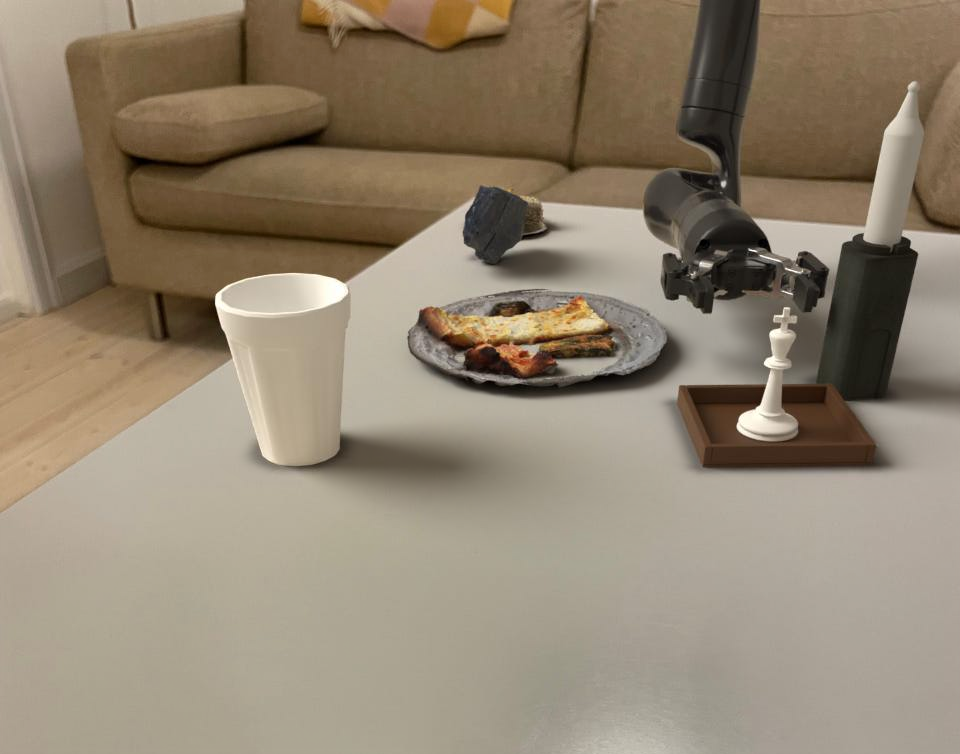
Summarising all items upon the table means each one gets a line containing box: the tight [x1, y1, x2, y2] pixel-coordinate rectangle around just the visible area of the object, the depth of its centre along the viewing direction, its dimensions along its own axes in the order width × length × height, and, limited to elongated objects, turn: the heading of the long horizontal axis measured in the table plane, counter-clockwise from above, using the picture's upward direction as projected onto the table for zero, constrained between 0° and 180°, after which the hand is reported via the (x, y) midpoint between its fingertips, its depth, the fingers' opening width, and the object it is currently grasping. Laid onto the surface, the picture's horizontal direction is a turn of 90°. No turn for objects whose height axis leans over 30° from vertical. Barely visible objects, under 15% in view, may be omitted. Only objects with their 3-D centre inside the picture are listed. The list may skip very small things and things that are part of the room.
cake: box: [507, 187, 548, 236], centre depth 137 cm, size 10×10×5 cm
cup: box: [214, 272, 352, 467], centre depth 81 cm, size 10×10×13 cm
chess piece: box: [737, 306, 798, 442], centre depth 83 cm, size 5×5×10 cm
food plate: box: [406, 288, 668, 388], centre depth 101 cm, size 25×23×4 cm
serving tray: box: [676, 383, 877, 468], centre depth 85 cm, size 13×12×2 cm
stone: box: [462, 185, 528, 265], centre depth 124 cm, size 14×6×10 cm, turn 170°
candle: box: [815, 80, 925, 402], centre depth 86 cm, size 5×5×25 cm
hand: (759, 301), depth 88 cm, fingers open, 8 cm apart
